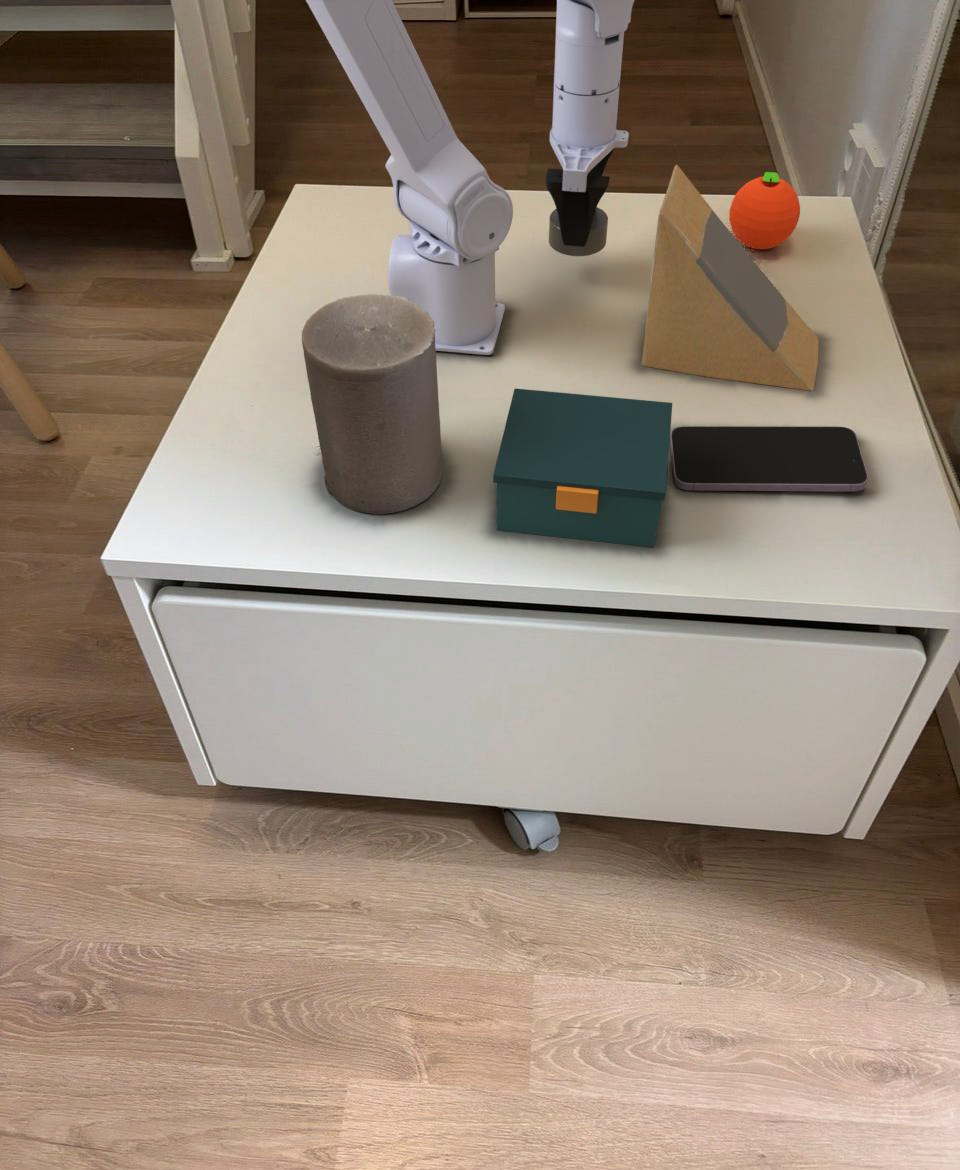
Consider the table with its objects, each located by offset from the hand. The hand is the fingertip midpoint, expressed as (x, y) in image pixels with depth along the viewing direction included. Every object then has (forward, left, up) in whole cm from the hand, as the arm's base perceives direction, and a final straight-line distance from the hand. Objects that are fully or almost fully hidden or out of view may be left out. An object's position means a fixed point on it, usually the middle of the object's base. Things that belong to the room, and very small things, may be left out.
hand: (578, 228), depth 99 cm
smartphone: (+18, -26, -5) cm, 32 cm away
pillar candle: (-12, -32, -5) cm, 35 cm away
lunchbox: (+4, -32, -5) cm, 33 cm away
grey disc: (0, 0, -1) cm, 1 cm away
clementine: (+18, +9, -5) cm, 21 cm away
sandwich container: (+16, -11, -5) cm, 20 cm away
